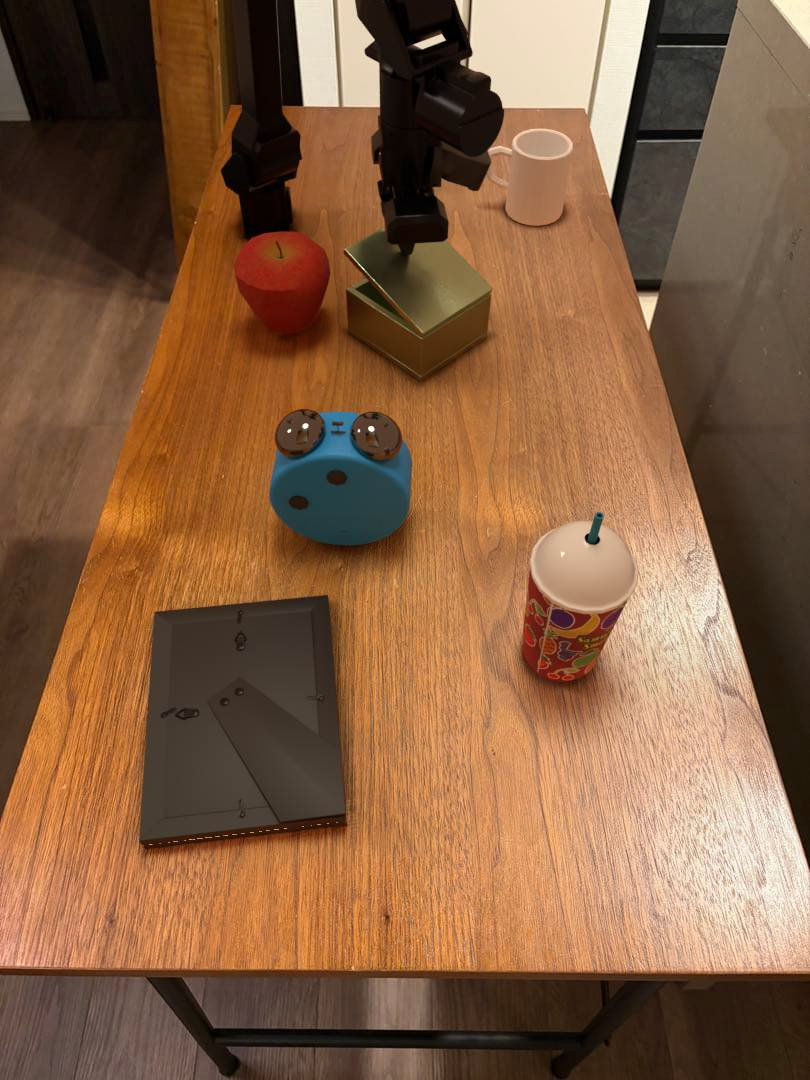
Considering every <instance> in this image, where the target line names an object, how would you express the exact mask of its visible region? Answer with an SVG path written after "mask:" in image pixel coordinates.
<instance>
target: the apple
mask: <svg viewBox="0 0 810 1080" xmlns="http://www.w3.org/2000/svg"><path fill="white" fill-rule="evenodd" d="M233 269H234V274H235V275H234V276H235V280H236V284H237V289H238V292H239V293H240V294H241V296H242V298H243V299H244V301H245V302H246V303H247V305H248V306H249V308H250V310H251V311H252V312H253V314H254V316H256V318H257V319H258V321H259V322H260V323H261V324H262V326H263V327H264V328H266V330H268V331H269V332H271V333H276V334H281V335H285V336H286V335H293V334H296V333H299V332H301V331H304V330H305V329H308V328H309V327H310V326H311V325H312V324H313V323H314V322H315V320H316V318H317V315H318V314H319V311H320V309H321V307H322V304H323V302H324V298H325V295H326V292H327V289H328V286H329V282H330V277H331V267H330V259H329V257H328V255H327V252H326V251H325V249H324V248H323V247H322V246H321V245H319V244H318V243H317V242H315V241H314V240H313V239H312V238H310V237H309V236H308V235H306V234H304V233H301V232H296V231H291V232H272V233H264V234H261V235H259V236H256V237H251V238H250V239H249V240H248V242H246V244H245V245H243V247H242V249H241V250H240V251H239V252H238V254H237V255H236V258H235V260H234V262H233Z"/></svg>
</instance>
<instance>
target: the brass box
mask: <svg viewBox="0 0 810 1080" xmlns="http://www.w3.org/2000/svg"><path fill="white" fill-rule="evenodd" d="M345 296H346V314H347V332H348V333H349V334H350V335H352V336H353V337H355V338H356V339H357V340H359V341H360V342H362V343H363V344H364V345H366V346H368V347H369V348H370V349H372V350H374V351H375V352H377V353H378V354H379V355H381V356H382V357H384V358H385V359H387V360H388V361H389V362H391V363H393V364H394V365H395V366H397V367H399V368H400V369H402V371H404V372H406V373H407V374H408V375H410V376H412V377H413V378H414V379H416V380H417V381H418V382H423V381H424V380H425V379H427V378H429V377H430V376H432V375H433V374H435V373H436V372H437V371H439V370H441V369H442V368H443V367H445V366H446V365H448V364H450V363H451V362H452V361H454V360H455V359H457V358H459V357H460V356H461V355H463V354H464V353H466V352H467V351H469V350H470V349H471V348H473V347H475V346H477V345H478V344H479V343H481V342H482V341H484V340H485V339H487V338H488V334H489V333H488V331H489V324H490V323H489V321H490V311H491V302H492V294H491V293H490V294H488V295H487V296H485V297H484V298H482V299H480V300H479V301H477V302H476V303H474V304H473V305H471V306H470V307H468V308H466V309H465V310H463V311H462V312H460V313H459V314H457V315H455V316H454V317H452V318H451V319H449V320H448V321H446V322H445V323H443V324H441V325H440V326H438V327H437V328H435V329H434V330H432V331H430V332H429V333H427V334H426V335H424V336H423V337H420V336H419V334H418V333H417V332H416V331H415V330H414V329H413V328H412V327H411V326H410V325H409V324H408V323H407V322H406V320H405V319H404V318H403V317H402V316H401V315H400V314H399V313H398V312H397V311H396V310H395V309H394V308H393V306H392V305H391V304H390V303H389V302H388V301H387V300H386V299H385V298H384V297H383V296H382V295H381V294H380V292H379V291H378V290H377V289H376V288H375V287H374V286H373V285H372V284H371V283H370V282H369V281H368V280H367V278H366V277H364V278H362V279H361V280H359V281H357V282H356V283H354V284H352V285H351V286H349V287H347V288H346V289H345Z"/></svg>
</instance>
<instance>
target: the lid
mask: <svg viewBox="0 0 810 1080" xmlns="http://www.w3.org/2000/svg"><path fill="white" fill-rule="evenodd" d="M343 255H344V256H345V257H346V259H348V260H349V261H350V262H351V264H352V265H353V266H354V267H355V268H356V269H357V270H358V271H359V272H360V273H361V274H362V276H364V278H367V280H368V281H369V282H370V283H371V284H372V285H373V286H374V287H375V288H376V289H377V290H378V291H379V292H380V294H381V295H382V296H383V297H384V298H385V299H386V300H387V301H388V302H389V303H390V304H391V305H392V306H393V308H394V309H395V310H396V311H397V312H398V313H399V314H400V315H401V316H402V317H403V318H404V319H405V320H406V322H407V323H408V324H409V325H410V326H411V327H412V328H413V329H414V330H415V331H416V332H417V333H418V334H419V336H420V337H423V336H424V335H426V334H427V333H429V332H430V331H432V330H434V329H435V328H437V327H438V326H440V325H441V324H443V323H445V322H446V321H448V320H449V319H451V318H452V317H454V316H455V315H457V314H459V313H460V312H462V311H463V310H465V309H466V308H468V307H470V306H471V305H473V304H474V303H476V302H477V301H479V300H480V299H482V298H484V297H485V296H487V295H488V294H491V293H492V291H493V290H494V288H493V287H492V286H491V285H490V284H489V283H488V282H487V281H486V280H485V278H484V277H482V275H481V274H480V273H479V272H478V271H477V270H476V269H475V268H474V267H473V266H472V265H471V264H470V263H469V262H468V261H467V260H466V259H465V258H464V256H463V255H461V254H460V253H459V252H458V251H457V249H456V248H455V247H454V246H453V245H452V244H451V243H450V242H449V241H448V239H446V240H445V241H444V242H431V243H415V246H414V249H413V252H412V254H411V255H402V253H401V251H400V249H399V246H398V244H397V245H393V244H391V243H389V242H387V237H386V231H385V226H383V227H382V228H380V229H378V230H377V231H374V232H372V233H371V234H369V235H367V236H366V237H363V238H362V239H360V240H358V241H356V242H354V243H353V244H351V245H349V246H347V247H345V248H344V249H343Z"/></svg>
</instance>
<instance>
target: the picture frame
mask: <svg viewBox="0 0 810 1080" xmlns="http://www.w3.org/2000/svg"><path fill="white" fill-rule="evenodd" d="M329 600H330V599H329V595H328V594H323V595H312V596H303V597H292V598H291V597H290V598H281V599H271V600H259V601H252V602H249V601H248V602H239V603H231V604H230V603H229V604H220V605H208V606H198V607H189V608H188V607H187V608H178V609H177V608H176V609H169V610H167V609H166V610H158V611H154V614H153V627H152V628H153V629H152V644H151V645H152V646H151V656H150V657H151V660H150V671H149V672H150V674H149V688H148V701H147V702H148V703H147V718H146V732H145V746H144V747H145V748H144V761H143V776H142V790H141V791H142V792H141V805H140V820H139V821H140V822H139V834H138V835H139V836H138V842H139V843H140V844H141V846H142V847H143V849H144V850H152V849H153V850H155V849H161V848H169V847H170V848H171V847H178V846H187V845H197V844H203V843H211V842H220V841H229V840H236V839H246V838H254V837H263V836H272V835H280V834H288V833H297V832H305V831H313V830H314V831H315V830H322V829H329V828H330V829H331V828H338V827H339V828H340V827H347V826H348V819H347V807H346V794H345V781H344V771H343V758H342V746H341V745H342V744H341V732H340V721H339V710H338V709H339V708H338V707H339V706H338V696H337V683H336V682H337V681H336V671H335V661H334V659H335V658H334V649H333V648H334V647H333V635H332V634H333V633H332V621H331V610H330V601H329ZM345 821H346V822H345ZM336 822H338V823H336ZM327 823H329V824H327ZM317 824H321V825H317ZM311 825H312V826H311ZM302 826H304V827H302ZM284 828H287V829H284ZM274 829H279V830H274ZM266 830H270V831H266ZM259 831H262V832H259ZM250 832H254V833H250ZM241 833H245V834H241ZM232 834H237V835H232ZM223 835H228V836H223ZM215 836H220V837H215ZM205 837H212V838H205ZM197 838H203V839H197ZM189 839H195V840H189ZM184 840H186V841H184ZM173 841H178V842H173ZM168 842H170V843H168ZM159 843H161V844H159ZM149 844H153V845H149ZM143 845H144V846H143Z"/></svg>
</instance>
